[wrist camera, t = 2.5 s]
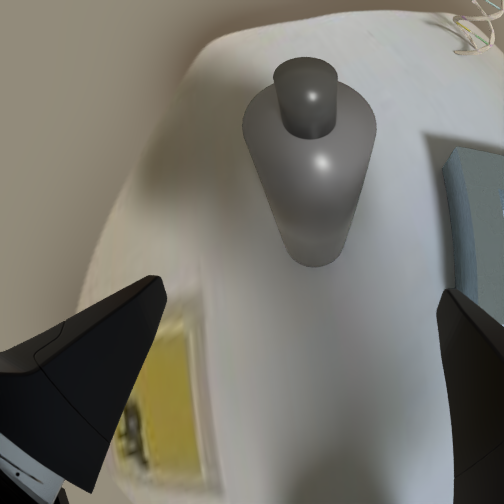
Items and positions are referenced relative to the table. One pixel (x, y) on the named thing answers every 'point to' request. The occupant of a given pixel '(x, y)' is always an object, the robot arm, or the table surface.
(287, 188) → the plug
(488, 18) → the dna model
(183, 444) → the table surface
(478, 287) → the grey square frame
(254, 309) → the table surface
